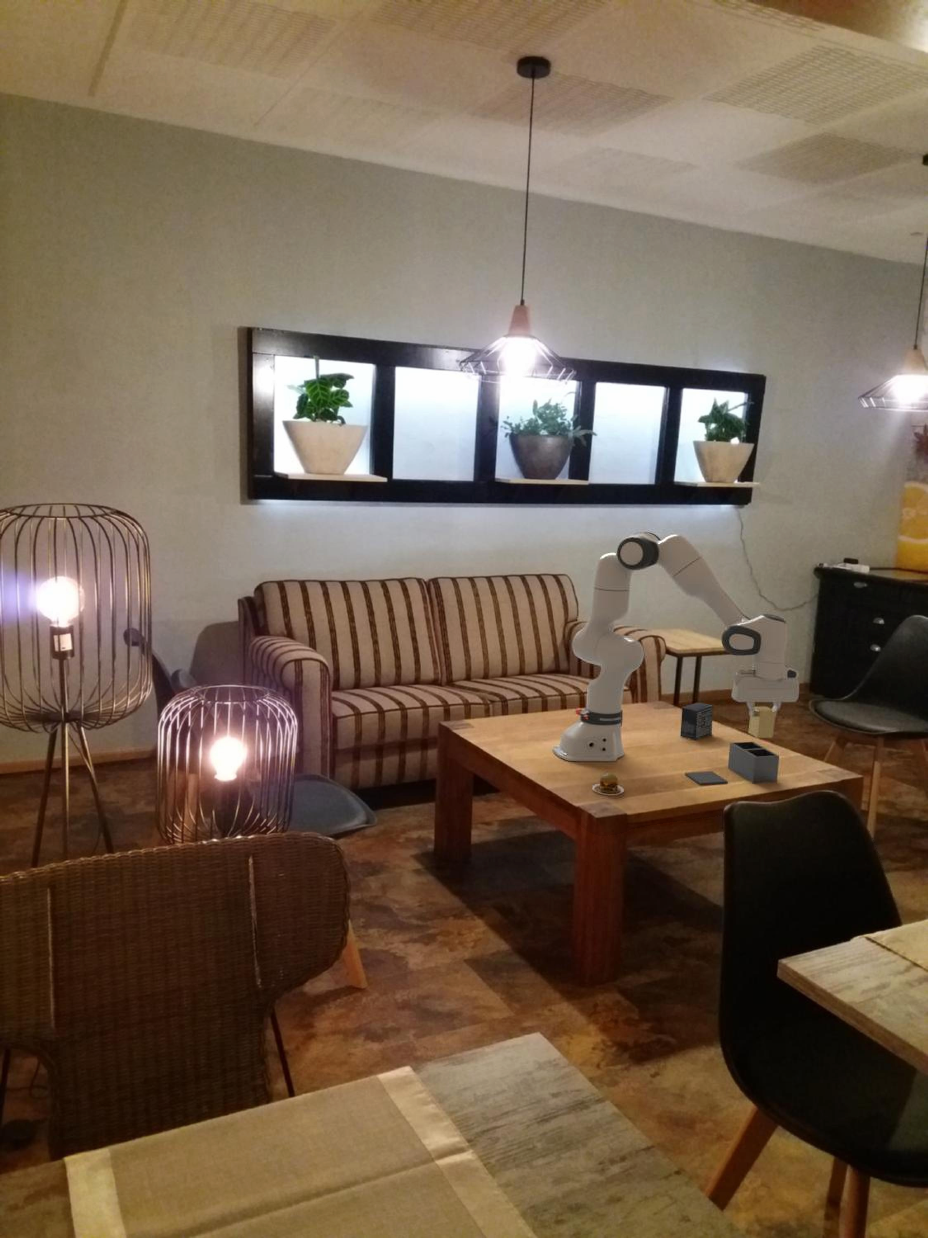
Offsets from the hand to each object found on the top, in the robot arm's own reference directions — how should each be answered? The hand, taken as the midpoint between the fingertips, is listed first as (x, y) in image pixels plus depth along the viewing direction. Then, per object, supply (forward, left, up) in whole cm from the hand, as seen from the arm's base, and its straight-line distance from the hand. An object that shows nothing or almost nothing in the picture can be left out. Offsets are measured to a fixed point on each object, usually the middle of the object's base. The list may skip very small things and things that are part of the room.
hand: (762, 716), depth 279 cm
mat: (-15, +3, -19) cm, 25 cm away
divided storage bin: (+1, +4, -19) cm, 20 cm away
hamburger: (-48, -1, -20) cm, 52 cm away
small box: (+4, +44, -20) cm, 48 cm away
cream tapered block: (0, 0, -6) cm, 6 cm away
